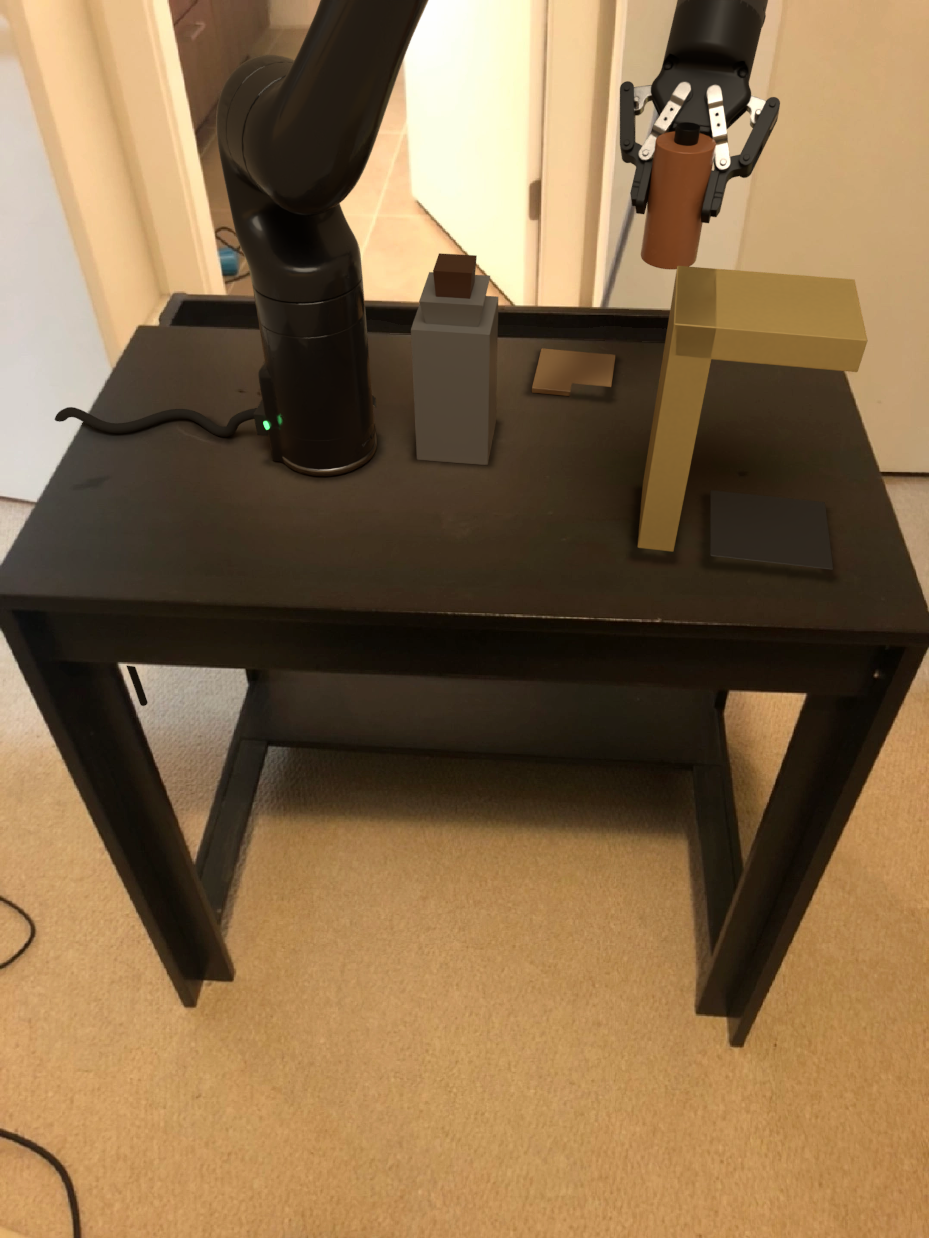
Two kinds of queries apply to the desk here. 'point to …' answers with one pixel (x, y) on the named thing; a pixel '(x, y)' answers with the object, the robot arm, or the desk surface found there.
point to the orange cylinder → (677, 196)
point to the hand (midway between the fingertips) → (672, 214)
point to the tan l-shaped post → (754, 333)
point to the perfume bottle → (455, 363)
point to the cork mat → (571, 371)
